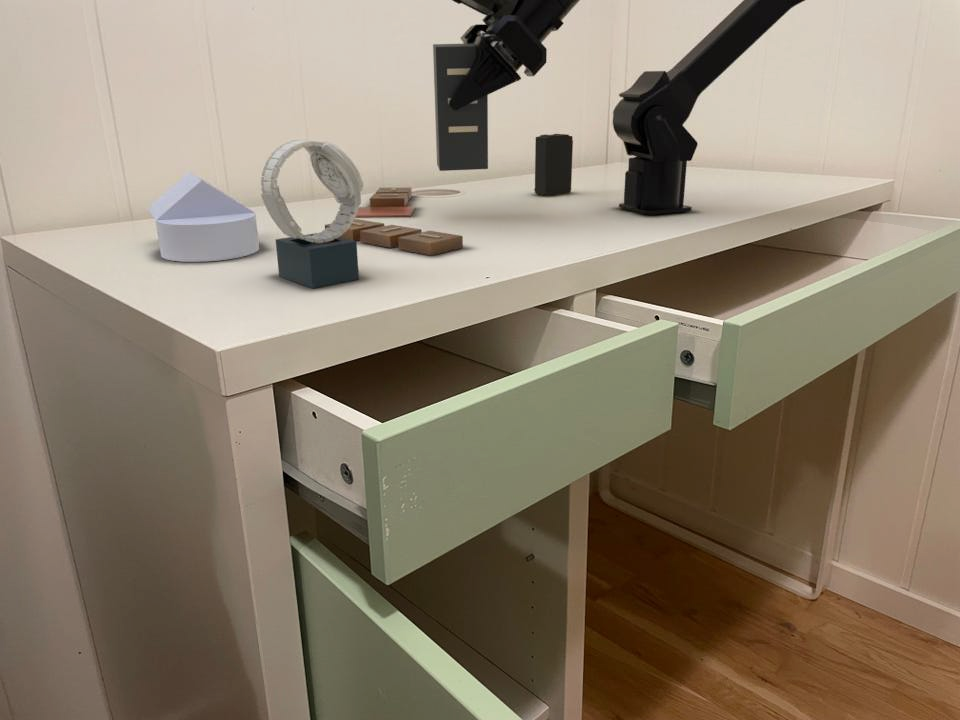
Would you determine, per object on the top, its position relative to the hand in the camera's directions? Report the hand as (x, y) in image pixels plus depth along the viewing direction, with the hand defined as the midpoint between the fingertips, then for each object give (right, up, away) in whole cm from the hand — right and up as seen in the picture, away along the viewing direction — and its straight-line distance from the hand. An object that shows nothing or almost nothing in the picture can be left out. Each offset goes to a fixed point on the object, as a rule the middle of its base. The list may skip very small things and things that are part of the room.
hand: (448, 106), depth 86 cm
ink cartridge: (+14, -5, +23) cm, 27 cm away
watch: (-10, -21, -21) cm, 32 cm away
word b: (-8, -8, +14) cm, 18 cm away
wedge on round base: (-23, -17, -10) cm, 31 cm away
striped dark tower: (+1, -6, +3) cm, 7 cm away
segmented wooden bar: (-5, -16, -8) cm, 19 cm away
